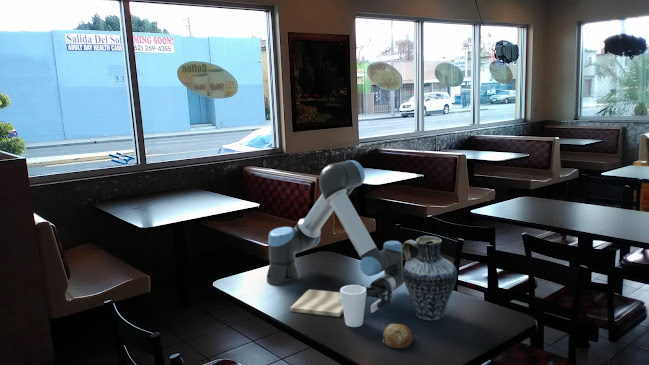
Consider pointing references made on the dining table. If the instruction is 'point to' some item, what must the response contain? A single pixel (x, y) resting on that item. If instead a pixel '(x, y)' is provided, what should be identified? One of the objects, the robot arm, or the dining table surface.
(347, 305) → the foam cup
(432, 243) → the jug
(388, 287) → the robot arm
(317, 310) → the serving board
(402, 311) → the dining table surface
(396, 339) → the bread roll
